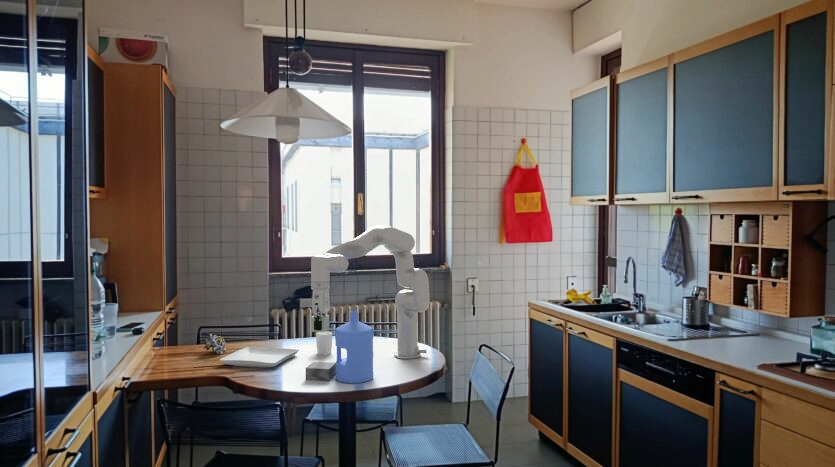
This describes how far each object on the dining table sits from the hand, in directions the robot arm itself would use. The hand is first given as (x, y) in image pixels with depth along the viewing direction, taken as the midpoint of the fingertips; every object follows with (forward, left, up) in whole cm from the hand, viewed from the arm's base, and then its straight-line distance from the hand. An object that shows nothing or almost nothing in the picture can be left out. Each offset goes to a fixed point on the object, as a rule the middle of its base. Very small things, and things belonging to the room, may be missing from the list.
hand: (320, 328), depth 244 cm
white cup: (+11, -40, -21) cm, 46 cm away
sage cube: (0, 0, -1) cm, 1 cm away
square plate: (+36, -22, -21) cm, 47 cm away
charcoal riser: (0, 0, -21) cm, 21 cm away
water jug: (-14, 0, -21) cm, 25 cm away
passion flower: (+64, -32, -21) cm, 74 cm away
